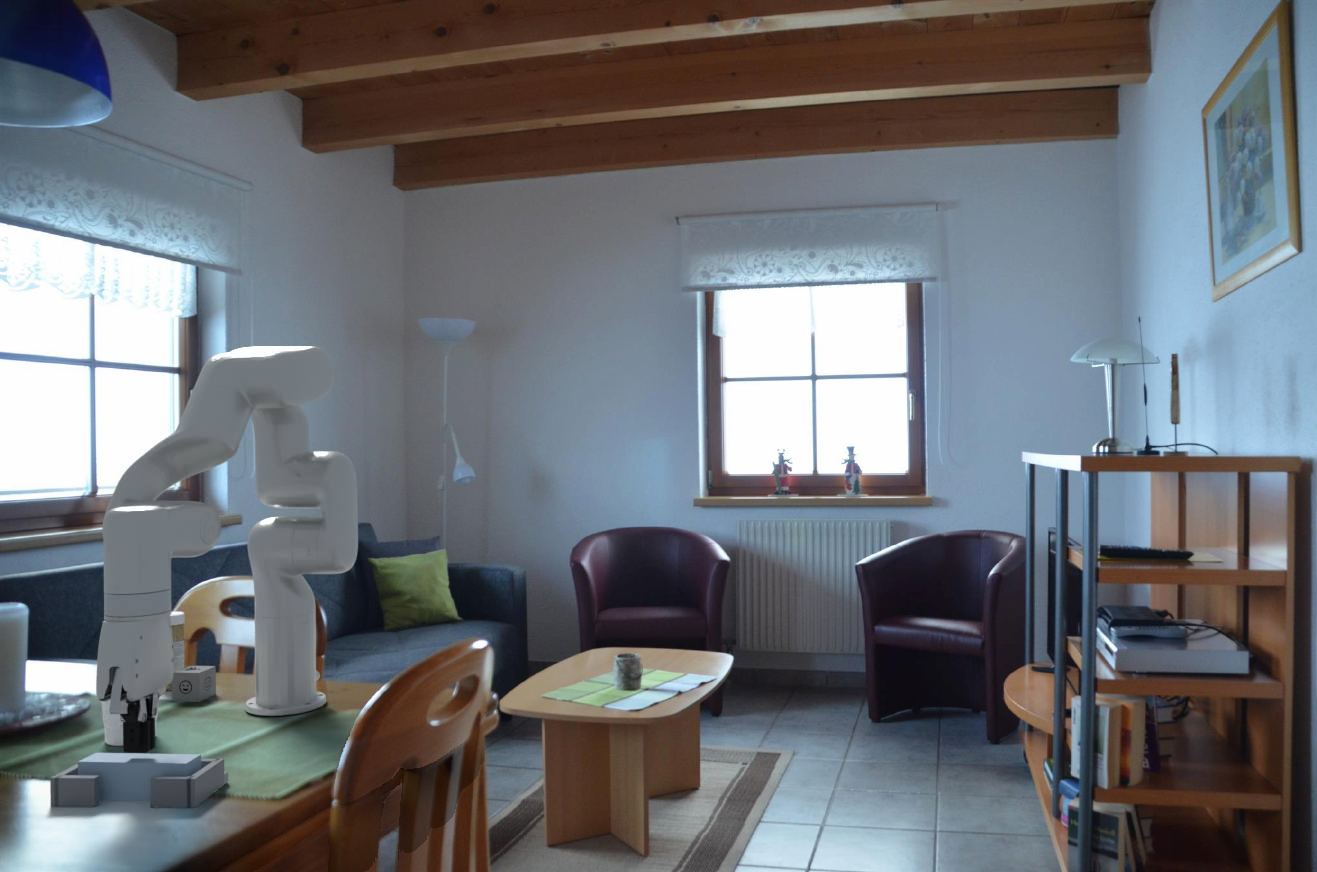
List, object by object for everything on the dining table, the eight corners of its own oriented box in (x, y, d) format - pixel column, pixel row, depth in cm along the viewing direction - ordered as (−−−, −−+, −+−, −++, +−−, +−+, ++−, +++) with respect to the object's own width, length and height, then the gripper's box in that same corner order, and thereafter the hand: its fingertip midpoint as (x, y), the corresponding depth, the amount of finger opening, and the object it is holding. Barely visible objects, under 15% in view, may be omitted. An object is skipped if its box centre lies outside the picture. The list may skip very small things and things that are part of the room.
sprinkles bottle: (151, 689, 178) (150, 614, 178) (174, 683, 182) (173, 610, 182) (168, 692, 176) (167, 616, 176) (190, 686, 180) (190, 611, 180)
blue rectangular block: (78, 801, 124) (77, 761, 124) (96, 791, 127) (95, 752, 127) (186, 803, 123) (186, 763, 123) (201, 793, 126) (201, 754, 126)
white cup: (135, 749, 144) (134, 680, 144) (87, 746, 146) (87, 677, 146) (172, 733, 152) (171, 667, 152) (126, 730, 153) (126, 665, 153)
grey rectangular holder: (92, 782, 130) (92, 755, 130) (228, 783, 130) (227, 756, 130) (50, 806, 122) (50, 777, 122) (195, 807, 121) (194, 778, 121)
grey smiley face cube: (189, 694, 175) (188, 665, 175) (215, 694, 174) (215, 666, 174) (172, 701, 170) (171, 672, 170) (199, 702, 169) (199, 672, 169)
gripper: (142, 595, 133) (143, 733, 133) (71, 615, 118) (72, 770, 118) (197, 595, 132) (198, 733, 132) (133, 615, 117) (134, 771, 117)
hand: (139, 750), depth 125 cm, fingers closed
